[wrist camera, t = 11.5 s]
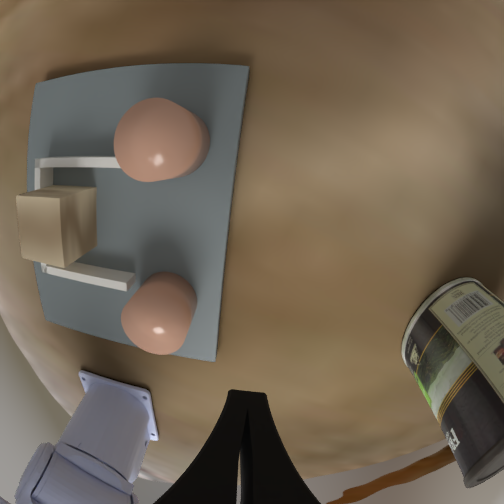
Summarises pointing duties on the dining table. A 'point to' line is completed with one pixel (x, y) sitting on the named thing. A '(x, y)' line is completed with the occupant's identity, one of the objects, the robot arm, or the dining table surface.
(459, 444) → the coffee can
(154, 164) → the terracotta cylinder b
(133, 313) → the pink rounded cylinder
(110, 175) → the slate board
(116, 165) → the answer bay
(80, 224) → the maple cube
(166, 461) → the dining table surface
